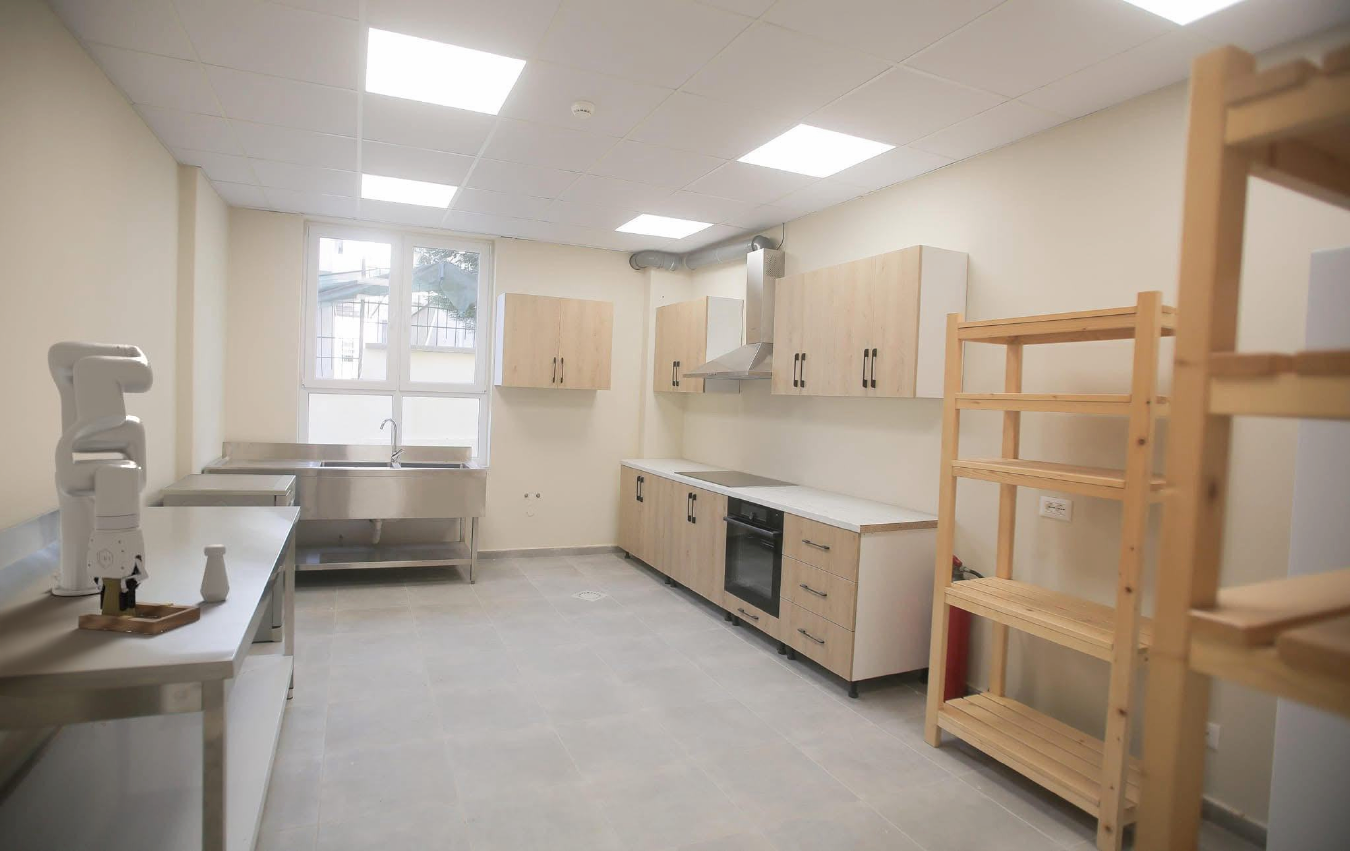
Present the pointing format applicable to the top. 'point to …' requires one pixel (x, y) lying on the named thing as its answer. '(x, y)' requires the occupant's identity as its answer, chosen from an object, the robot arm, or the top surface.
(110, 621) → the wooden u-shaped frame
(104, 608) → the pepper shaker
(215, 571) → the salt shaker
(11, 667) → the top surface
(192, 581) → the top surface
